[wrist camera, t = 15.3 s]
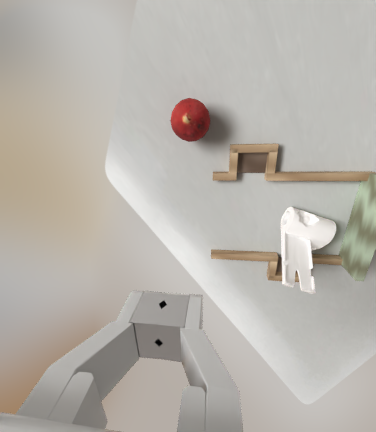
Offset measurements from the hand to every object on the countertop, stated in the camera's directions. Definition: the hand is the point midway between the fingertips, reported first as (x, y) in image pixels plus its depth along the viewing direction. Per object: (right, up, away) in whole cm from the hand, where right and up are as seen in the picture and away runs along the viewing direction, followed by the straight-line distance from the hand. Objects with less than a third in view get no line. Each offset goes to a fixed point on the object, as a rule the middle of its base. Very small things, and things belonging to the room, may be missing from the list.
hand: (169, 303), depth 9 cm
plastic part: (+21, +1, +31) cm, 38 cm away
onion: (+2, +19, +26) cm, 32 cm away
